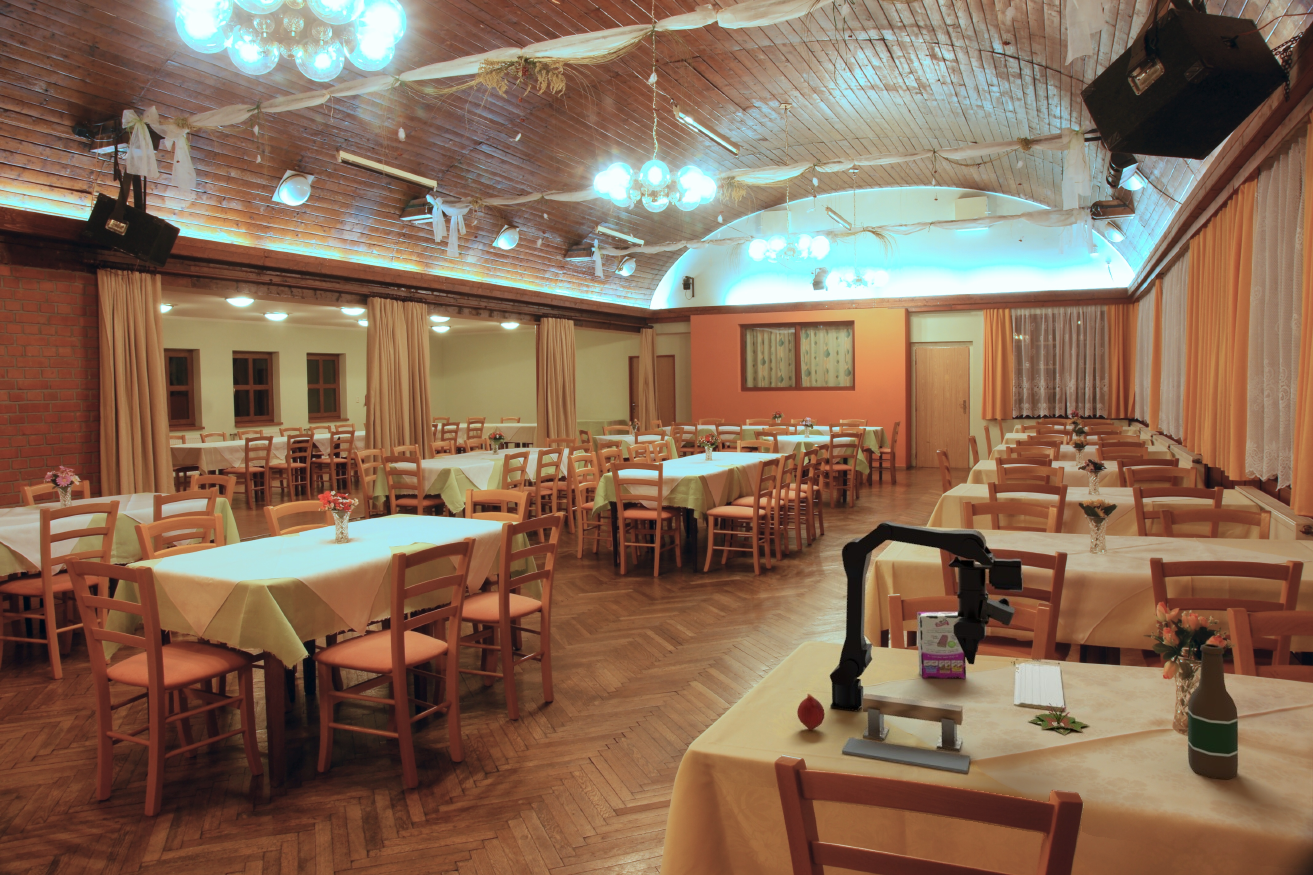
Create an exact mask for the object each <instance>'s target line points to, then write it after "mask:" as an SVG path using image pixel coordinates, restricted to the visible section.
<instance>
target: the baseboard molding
mask: <svg viewBox="0 0 1313 875" xmlns="http://www.w3.org/2000/svg"><path fill="white" fill-rule="evenodd" d="M1015 661H1018V658H1016V659H1015ZM1015 661H1011V662H1010V663H1011V664H1013V665H1015V673H1014V674H1015V675H1014V676H1015V677H1014V693H1013V694H1014V695H1013V696H1014V697H1013V698H1014V699H1013V706H1014V705H1018V706H1017V707H1023V706H1028V707H1027V708H1031V707H1034V708H1033V709H1040V710H1049V711H1050V710H1052V709H1053V708H1054V709H1055V711H1056V712H1059V711H1060V709H1061V711H1062V709H1064V707H1065V702H1064V694H1063V681H1062V674H1061V666H1059V665H1060V662H1058V663H1056V662H1055V664H1056V665H1048V664H1049V662H1045V663H1046V664H1039V663H1038V664H1036V663H1035V664H1034V663H1026V662H1021V663H1020V664H1017V663H1016V662H1015ZM1024 661H1027V662H1029V660H1026V659H1024ZM1031 661H1033V662H1042V660H1041V659H1039V658H1038V659H1037V658H1035V659H1034V658H1032V659H1031ZM1057 664H1058V666H1057ZM1016 667H1019V670H1017V669H1016ZM1016 671H1018V672H1019V673H1018V672H1016ZM1049 703H1050V704H1051V705H1052V706H1051V705H1050V704H1049ZM1062 705H1063V706H1062ZM1047 706H1050V707H1051V708H1052V709H1051V708H1050V707H1047ZM1061 706H1062V707H1061ZM1057 708H1058V710H1056V709H1057ZM1052 711H1053V710H1052Z"/></svg>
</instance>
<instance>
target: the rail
mask: <svg viewBox="0 0 1313 875" xmlns="http://www.w3.org/2000/svg"><path fill="white" fill-rule="evenodd" d="M868 708H875V709H880V714H882V715H884V716H889V717H890V716H891V717H897V718H906V719H912V720H919V721H925V722H926V721H927V722H935V723H941V718H949V719H955V725H957V726H962V724H963V721H964V719H963V717H964V716H963V705H958V704H953V703H951V704H950V703H942V702H936V701H929V700H928V701H927V700H919V699H913V698H904V697H897V696H889V695H888V696H886V695H880V694H872V693H864V694H863V698H862V712H863V713H868Z"/></svg>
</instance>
